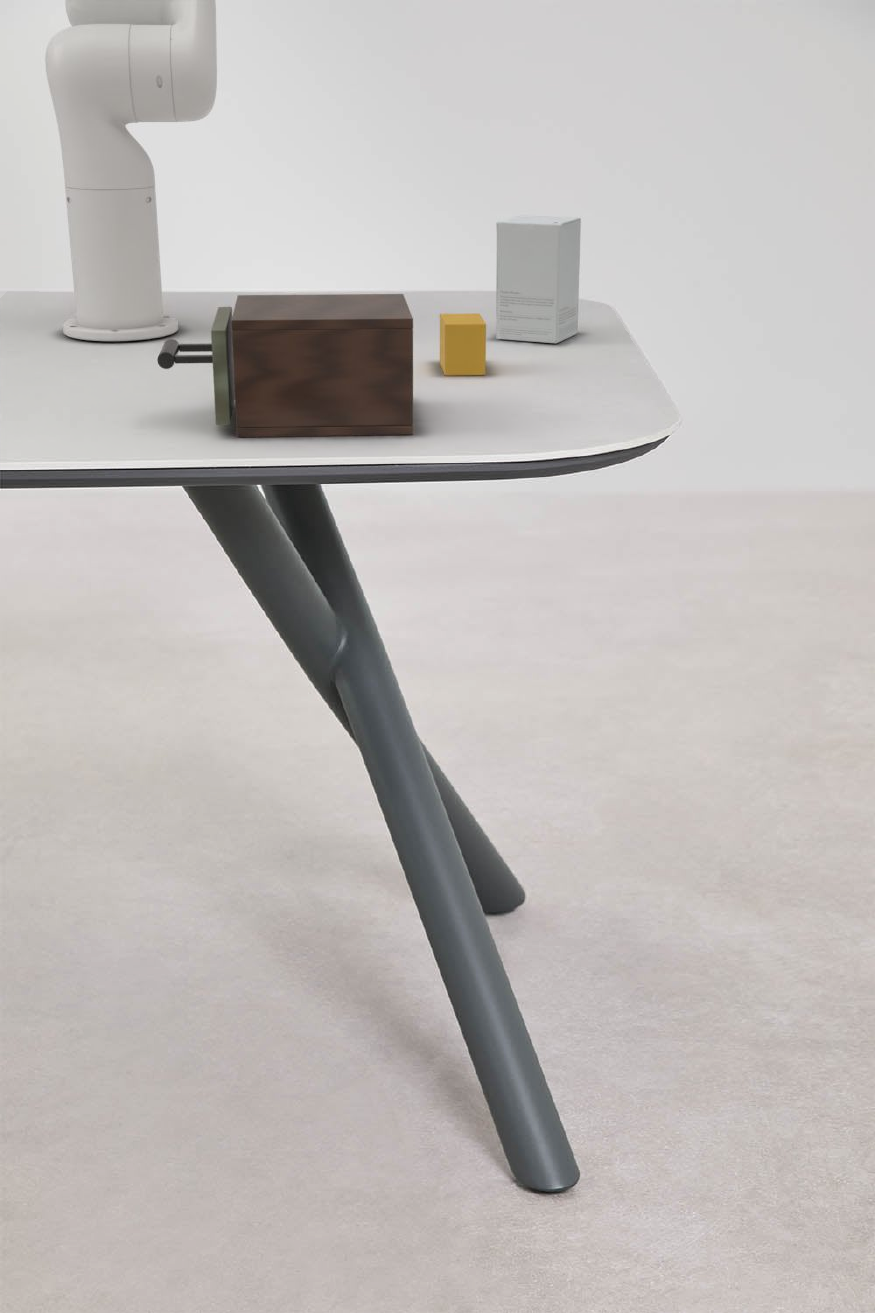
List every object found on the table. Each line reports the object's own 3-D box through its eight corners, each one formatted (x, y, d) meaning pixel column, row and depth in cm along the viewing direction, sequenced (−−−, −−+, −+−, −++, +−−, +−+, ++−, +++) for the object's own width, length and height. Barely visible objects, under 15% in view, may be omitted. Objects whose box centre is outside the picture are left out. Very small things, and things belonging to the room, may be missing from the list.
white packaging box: (579, 333, 168) (584, 216, 163) (556, 345, 161) (560, 223, 157) (518, 328, 170) (521, 213, 166) (493, 339, 164) (495, 220, 159)
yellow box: (439, 363, 152) (439, 313, 150) (478, 362, 152) (479, 313, 150) (444, 375, 147) (445, 324, 145) (485, 375, 147) (486, 323, 145)
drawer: (158, 426, 123) (152, 330, 120) (169, 395, 134) (164, 307, 131) (379, 422, 125) (378, 328, 122) (373, 392, 135) (372, 305, 132)
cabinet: (236, 437, 124) (231, 320, 120) (242, 403, 135) (237, 294, 132) (413, 434, 125) (413, 318, 121) (403, 400, 136) (403, 293, 133)
